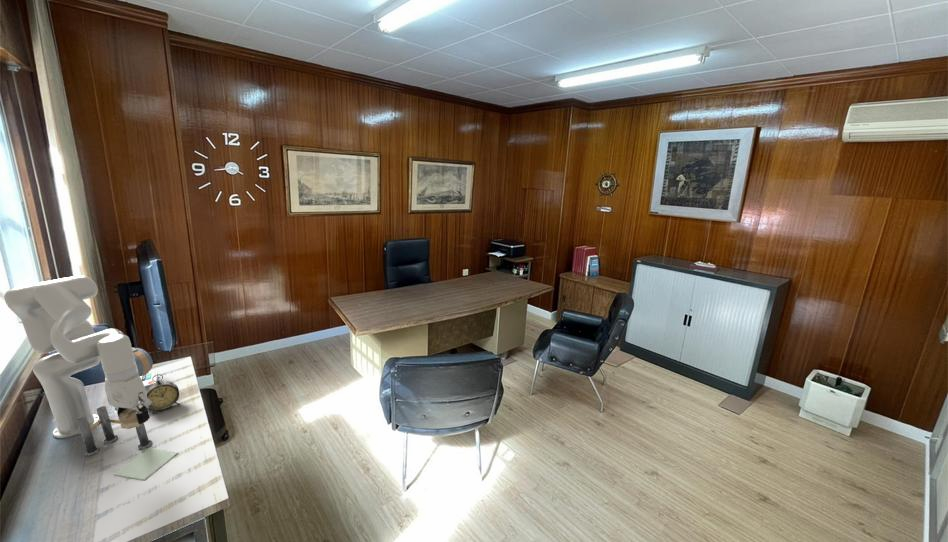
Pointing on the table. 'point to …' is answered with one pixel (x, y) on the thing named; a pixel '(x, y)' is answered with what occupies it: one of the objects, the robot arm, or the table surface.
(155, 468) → the pad
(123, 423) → the pot
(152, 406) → the alarm clock
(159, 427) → the table surface
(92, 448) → the rope barrier
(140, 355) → the alarm clock
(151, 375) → the light bulb box
